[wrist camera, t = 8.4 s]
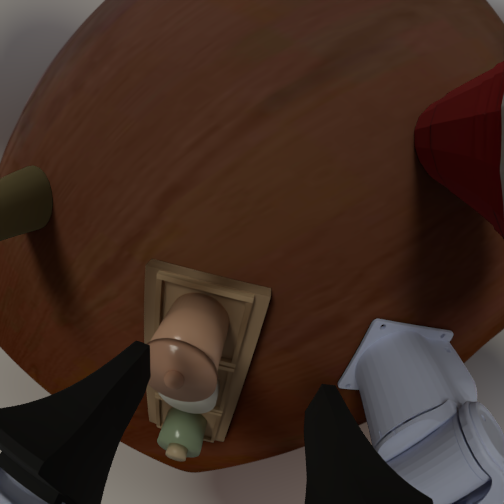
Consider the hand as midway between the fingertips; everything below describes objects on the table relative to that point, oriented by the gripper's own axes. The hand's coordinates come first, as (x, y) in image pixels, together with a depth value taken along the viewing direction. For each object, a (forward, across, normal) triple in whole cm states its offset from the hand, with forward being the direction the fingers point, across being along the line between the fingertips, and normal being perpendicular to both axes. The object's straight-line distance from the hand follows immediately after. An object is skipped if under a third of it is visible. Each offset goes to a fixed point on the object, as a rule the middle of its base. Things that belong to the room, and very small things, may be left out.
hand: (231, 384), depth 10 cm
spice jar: (+9, +3, +4) cm, 10 cm away
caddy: (+10, +3, +11) cm, 15 cm away
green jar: (+9, +3, +18) cm, 20 cm away
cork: (+10, +21, -2) cm, 23 cm away
